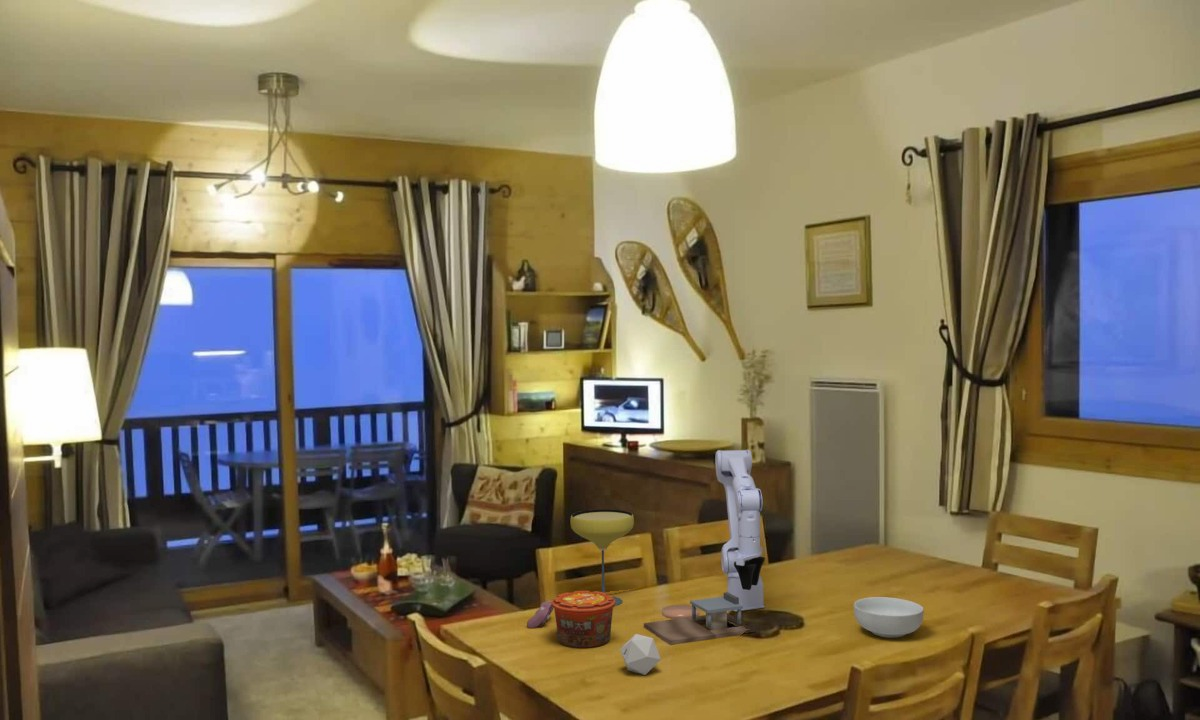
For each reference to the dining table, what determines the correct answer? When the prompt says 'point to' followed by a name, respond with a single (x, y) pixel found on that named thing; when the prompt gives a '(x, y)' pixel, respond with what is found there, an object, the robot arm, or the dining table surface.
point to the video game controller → (541, 615)
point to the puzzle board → (690, 630)
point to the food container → (583, 618)
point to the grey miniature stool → (717, 606)
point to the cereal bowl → (888, 616)
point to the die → (640, 654)
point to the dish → (678, 611)
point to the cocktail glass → (602, 529)
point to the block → (718, 620)
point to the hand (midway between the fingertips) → (749, 587)
